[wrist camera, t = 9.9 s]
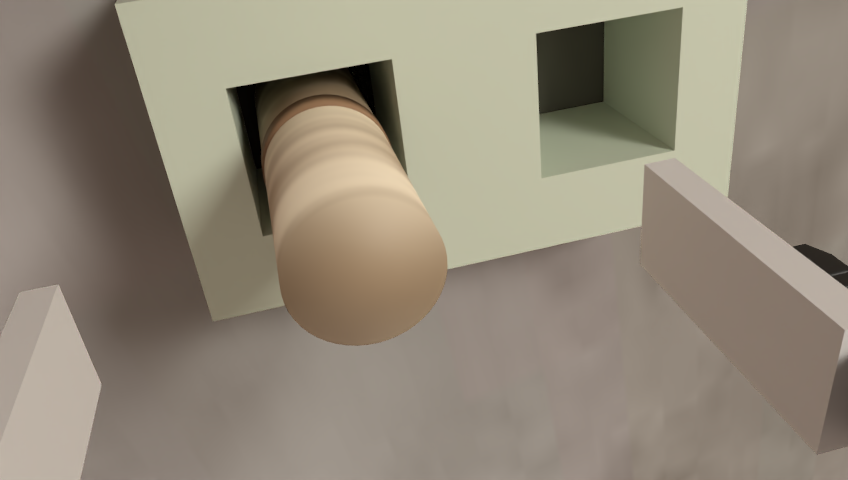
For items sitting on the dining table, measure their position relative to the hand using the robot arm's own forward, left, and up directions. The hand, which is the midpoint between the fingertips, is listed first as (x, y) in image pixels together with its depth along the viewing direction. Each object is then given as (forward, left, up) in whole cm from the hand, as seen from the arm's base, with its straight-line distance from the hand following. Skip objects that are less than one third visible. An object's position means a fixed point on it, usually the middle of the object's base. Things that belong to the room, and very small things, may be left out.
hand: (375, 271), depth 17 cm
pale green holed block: (0, +5, -15) cm, 15 cm away
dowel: (0, 0, -15) cm, 15 cm away
